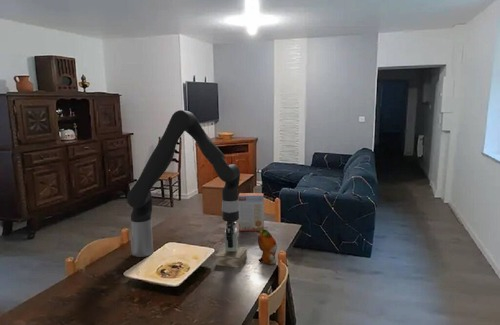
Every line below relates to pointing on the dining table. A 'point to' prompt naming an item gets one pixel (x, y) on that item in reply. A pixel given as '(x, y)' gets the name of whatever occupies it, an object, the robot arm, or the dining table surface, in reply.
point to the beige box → (231, 257)
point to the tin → (233, 241)
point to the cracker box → (251, 211)
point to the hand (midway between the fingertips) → (231, 244)
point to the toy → (267, 247)
